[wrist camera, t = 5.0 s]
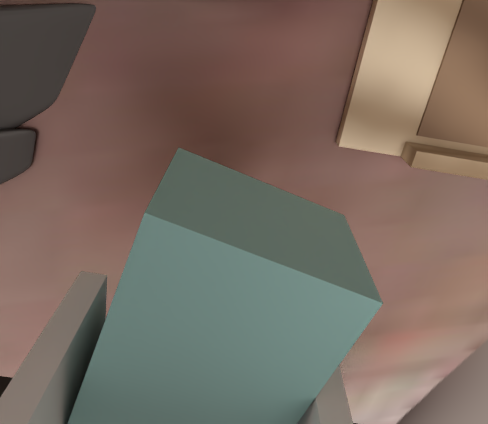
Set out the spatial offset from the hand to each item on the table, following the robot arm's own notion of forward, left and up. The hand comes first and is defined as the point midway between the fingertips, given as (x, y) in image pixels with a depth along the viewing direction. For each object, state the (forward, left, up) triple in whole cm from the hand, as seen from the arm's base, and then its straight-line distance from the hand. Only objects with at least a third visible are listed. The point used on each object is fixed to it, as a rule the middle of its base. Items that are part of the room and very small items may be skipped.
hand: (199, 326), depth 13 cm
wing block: (0, 0, -1) cm, 1 cm away
